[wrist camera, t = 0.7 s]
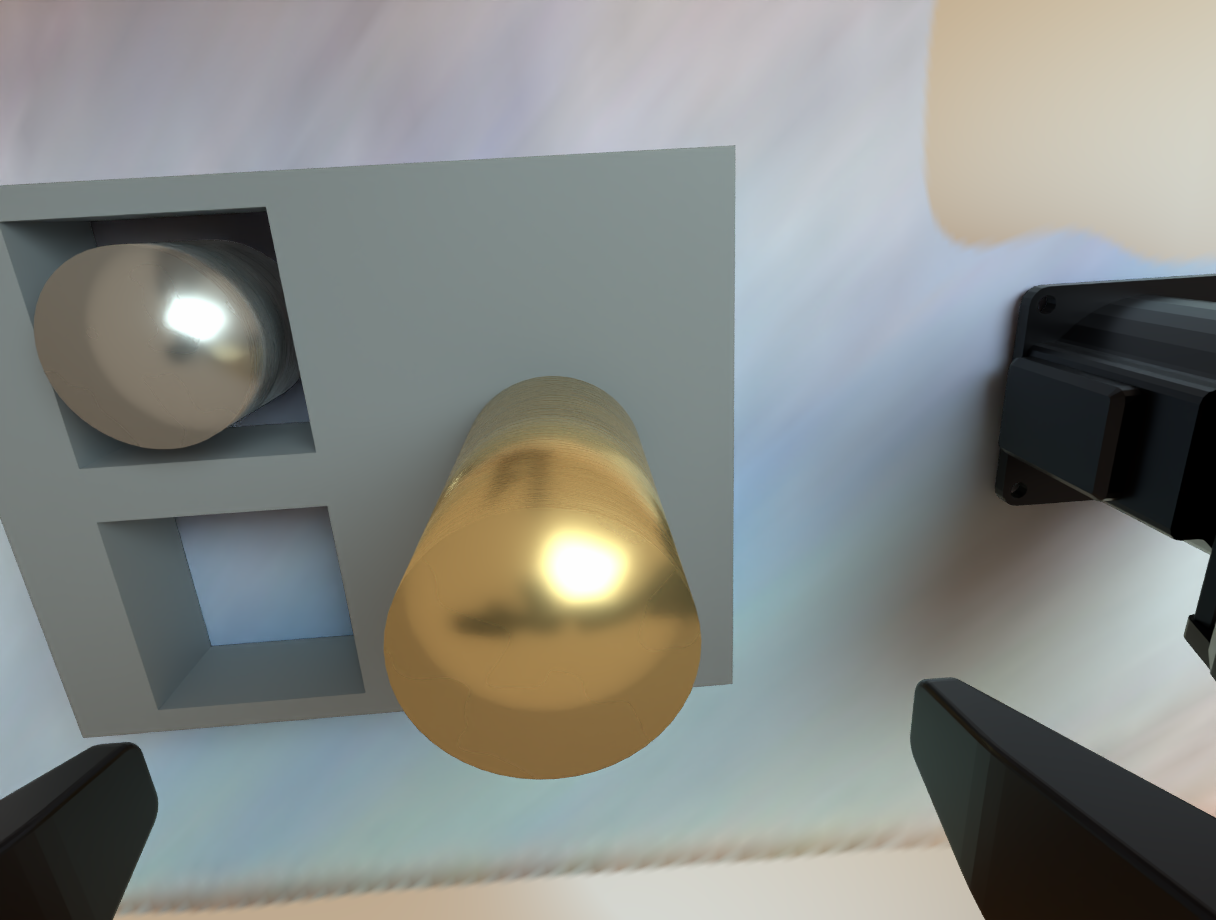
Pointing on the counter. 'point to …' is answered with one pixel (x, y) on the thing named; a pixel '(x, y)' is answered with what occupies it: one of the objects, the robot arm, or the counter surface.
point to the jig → (368, 404)
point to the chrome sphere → (166, 338)
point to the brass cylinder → (545, 593)
